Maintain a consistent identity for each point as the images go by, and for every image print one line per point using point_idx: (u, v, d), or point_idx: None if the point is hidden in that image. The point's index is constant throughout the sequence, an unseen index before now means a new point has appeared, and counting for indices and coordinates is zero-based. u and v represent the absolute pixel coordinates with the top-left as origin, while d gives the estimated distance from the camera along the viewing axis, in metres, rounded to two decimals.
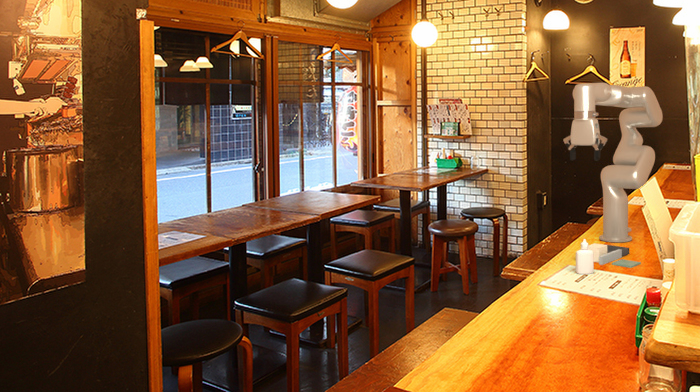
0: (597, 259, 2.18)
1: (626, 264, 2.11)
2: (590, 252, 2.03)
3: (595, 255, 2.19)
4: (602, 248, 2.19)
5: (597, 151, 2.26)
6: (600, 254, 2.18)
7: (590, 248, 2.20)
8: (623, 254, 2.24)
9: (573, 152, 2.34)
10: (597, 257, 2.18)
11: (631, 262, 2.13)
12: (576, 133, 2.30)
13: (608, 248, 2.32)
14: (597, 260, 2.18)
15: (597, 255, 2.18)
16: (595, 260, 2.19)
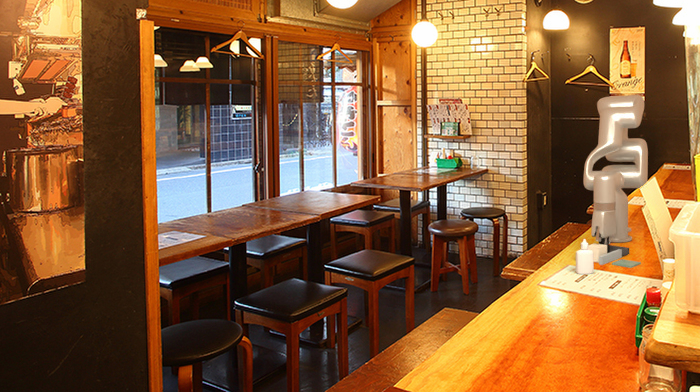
0: (597, 259, 2.18)
1: (626, 264, 2.11)
2: (590, 252, 2.03)
3: (595, 255, 2.18)
4: (602, 248, 2.19)
5: None
6: (600, 254, 2.18)
7: (590, 248, 2.20)
8: (623, 254, 2.24)
9: None
10: (597, 257, 2.18)
11: (631, 262, 2.13)
12: (607, 225, 2.20)
13: None
14: (597, 260, 2.18)
15: (597, 255, 2.18)
16: (595, 260, 2.19)
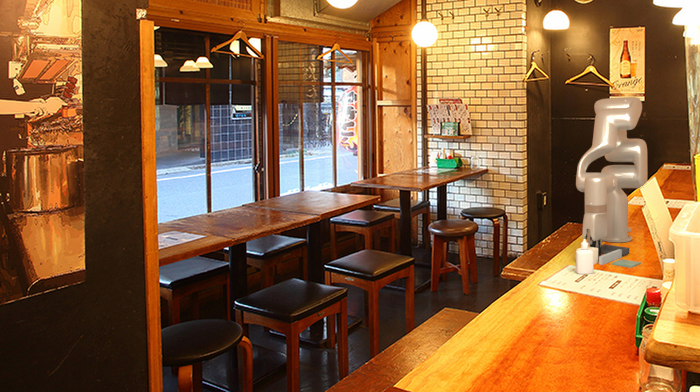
0: None
1: (626, 264, 2.11)
2: (590, 252, 2.03)
3: None
4: (593, 251, 2.15)
5: None
6: None
7: None
8: (623, 254, 2.24)
9: None
10: None
11: (631, 262, 2.13)
12: (598, 228, 2.16)
13: (608, 248, 2.32)
14: None
15: None
16: None
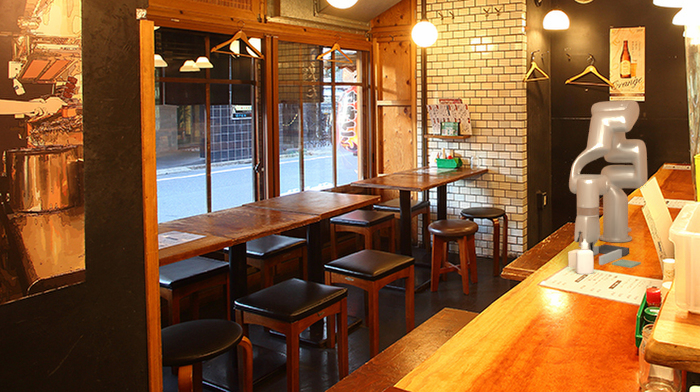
0: None
1: (626, 264, 2.11)
2: (590, 252, 2.03)
3: None
4: None
5: (591, 250, 2.17)
6: None
7: (572, 254, 2.13)
8: (623, 254, 2.24)
9: None
10: None
11: (631, 262, 2.13)
12: (591, 230, 2.13)
13: (608, 248, 2.32)
14: None
15: None
16: None
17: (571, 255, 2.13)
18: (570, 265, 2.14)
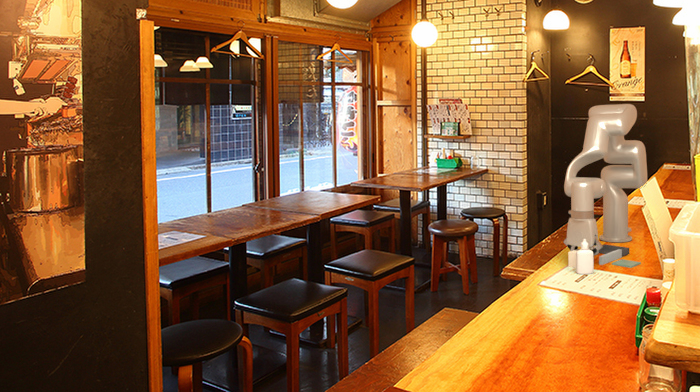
0: None
1: (626, 264, 2.11)
2: (590, 252, 2.03)
3: None
4: None
5: None
6: None
7: (572, 254, 2.13)
8: (623, 254, 2.24)
9: None
10: None
11: (631, 262, 2.13)
12: None
13: (608, 248, 2.32)
14: None
15: None
16: None
17: (571, 255, 2.13)
18: (570, 265, 2.14)
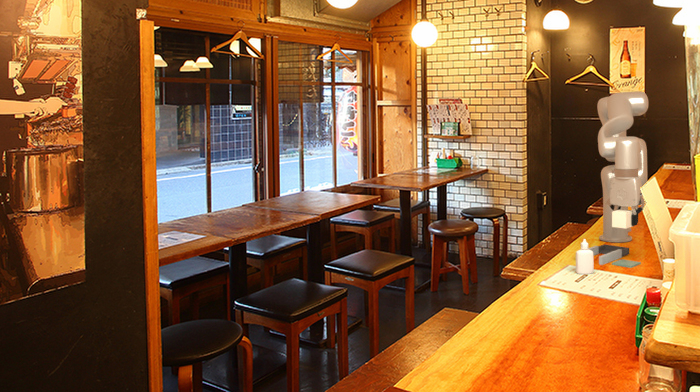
0: (624, 225, 2.06)
1: (626, 264, 2.11)
2: (590, 252, 2.03)
3: (622, 221, 2.07)
4: (629, 213, 2.07)
5: None
6: (627, 219, 2.06)
7: (616, 213, 2.08)
8: (623, 254, 2.24)
9: None
10: (624, 223, 2.06)
11: (631, 262, 2.13)
12: None
13: (608, 248, 2.32)
14: (624, 226, 2.06)
15: (624, 220, 2.06)
16: (622, 226, 2.07)
17: (615, 215, 2.09)
18: (614, 225, 2.09)
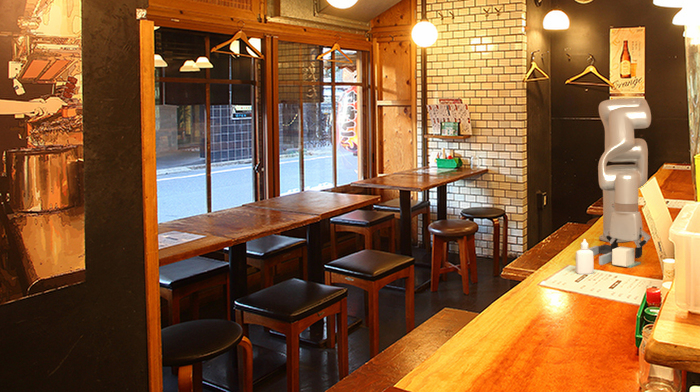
0: (624, 263, 2.08)
1: None
2: (590, 252, 2.03)
3: (622, 259, 2.09)
4: (629, 251, 2.09)
5: None
6: (627, 258, 2.08)
7: (617, 251, 2.10)
8: None
9: None
10: (624, 261, 2.08)
11: None
12: None
13: (608, 248, 2.32)
14: (624, 264, 2.08)
15: (624, 258, 2.08)
16: (622, 264, 2.09)
17: (615, 252, 2.11)
18: (614, 263, 2.11)
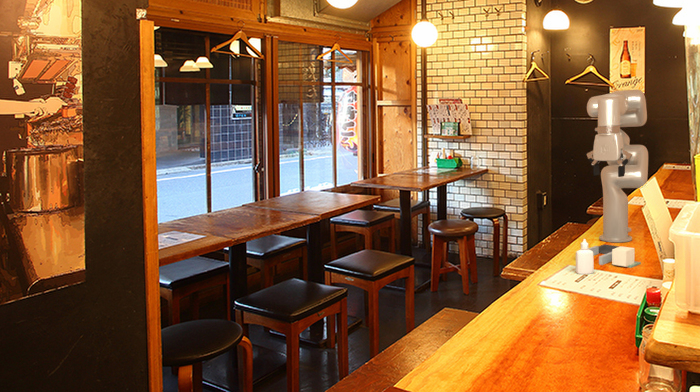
0: (624, 263, 2.08)
1: None
2: (590, 252, 2.03)
3: (622, 259, 2.09)
4: (629, 251, 2.09)
5: None
6: (627, 258, 2.08)
7: (617, 251, 2.10)
8: None
9: None
10: (624, 261, 2.08)
11: None
12: None
13: (608, 248, 2.32)
14: (624, 264, 2.08)
15: (624, 258, 2.08)
16: (622, 264, 2.09)
17: (615, 252, 2.11)
18: (614, 263, 2.11)
